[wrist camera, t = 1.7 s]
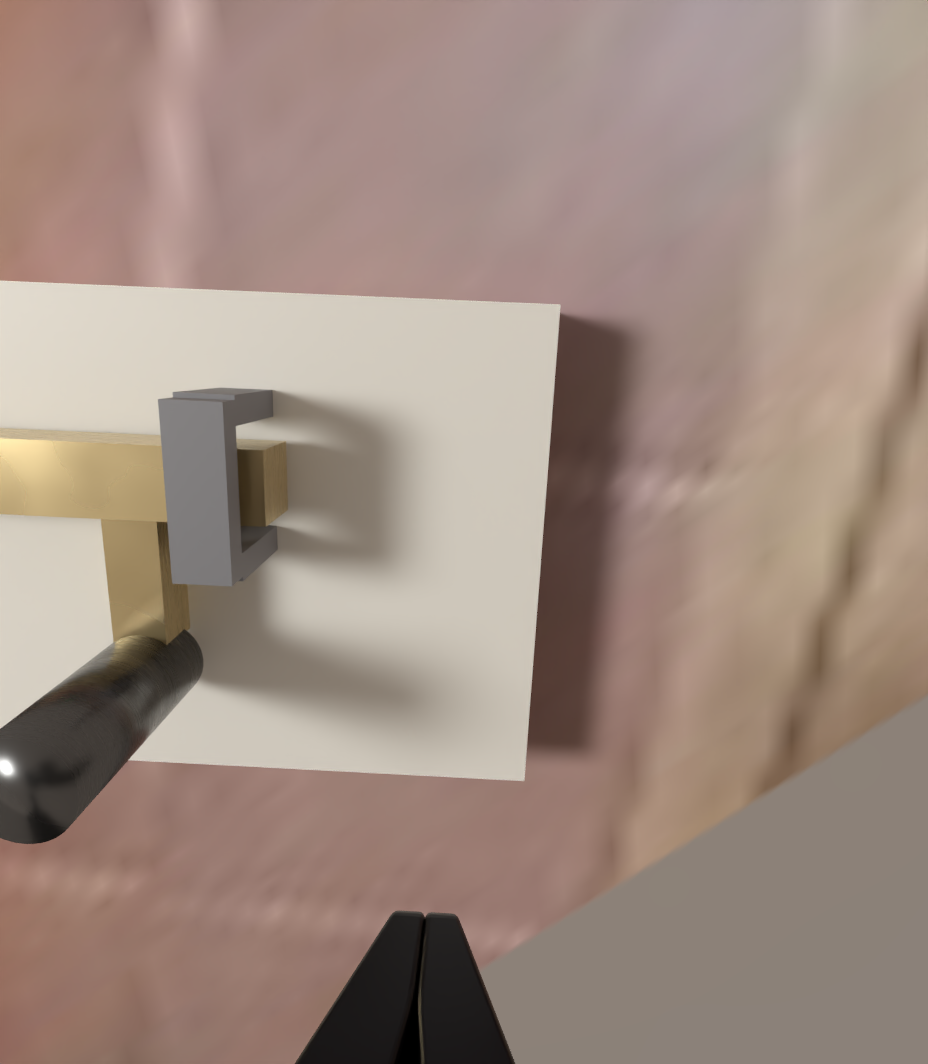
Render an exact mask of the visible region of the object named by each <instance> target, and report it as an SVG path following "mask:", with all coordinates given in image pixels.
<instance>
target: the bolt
mask: <svg viewBox="0 0 928 1064" xmlns="http://www.w3.org/2000/svg"><path fill="white" fill-rule="evenodd" d="M236 442H237V463H238V484H239V505H240V526H258V527H266V526H268V525H269V524H270V523H272V522H273V521H274V520H275V519H277V518H278V517H279V516H281V515H282V514H283V513H285V512H286V511H287V510H288V492H287V456H286V441H274V440H252V439H236ZM0 514H5V515H26V516H47V517H68V518H90V519H101V527H102V537H103V547H104V556H105V566H106V575H107V585H108V594H109V604H110V613H111V623H112V632H113V643H112V644H111V645H109V646H108V647H107V648H106V649H104V650H103V651H102V652H100V653H99V654H98V655H96V656H95V657H94V658H92V659H91V660H90V661H88V662H87V663H86V664H85V665H83V666H82V667H81V668H79V669H78V670H77V671H75V672H74V673H73V674H71V675H70V676H69V677H67V678H66V679H65V680H63V681H62V682H61V683H60V684H58V685H57V686H56V687H54V688H53V689H52V690H50V691H49V692H48V693H46V694H45V695H44V696H42V697H41V698H40V699H39V700H37V701H36V702H35V703H33V704H32V705H31V706H29V707H28V708H27V709H25V710H24V711H23V712H21V713H20V714H19V715H18V716H16V717H15V718H14V719H12V720H11V721H10V722H8V723H7V724H6V725H4V726H3V727H2V728H0V838H2V839H5V840H8V841H11V842H16V843H23V844H35V843H42V842H46V841H49V840H52V839H54V838H56V837H58V836H59V835H61V834H62V833H63V832H65V831H66V830H67V828H68V827H69V826H70V825H71V824H72V823H73V822H74V821H75V820H76V818H77V817H78V816H79V815H80V814H81V813H82V812H83V811H84V809H85V808H86V807H87V806H88V805H89V804H90V803H91V802H92V800H93V799H94V798H95V797H96V796H97V795H98V794H99V793H100V791H101V790H102V789H103V788H104V787H105V786H106V785H107V783H108V782H109V781H110V780H111V779H112V778H113V777H114V776H115V774H116V773H117V772H118V771H119V770H120V769H121V768H122V767H123V765H124V764H125V763H126V762H127V761H128V760H129V759H130V758H131V756H132V755H133V754H134V753H135V752H136V751H137V750H138V749H139V747H140V746H141V745H142V744H143V743H144V742H145V741H146V740H147V738H148V737H149V736H150V735H151V734H152V733H153V732H154V731H155V729H156V728H157V727H158V726H159V725H160V724H161V723H162V722H163V720H164V719H165V718H166V717H167V716H168V715H169V714H170V712H171V711H172V710H173V709H174V708H175V707H176V706H177V705H178V703H179V702H180V701H181V700H182V699H183V698H184V697H185V696H186V694H187V693H188V692H189V691H190V690H191V689H192V688H193V687H194V685H195V684H196V683H197V682H198V680H199V679H200V677H201V674H202V671H203V655H202V651H201V649H200V646H199V645H198V643H197V641H196V640H195V639H194V637H193V636H192V635H191V634H190V633H189V632H188V630H189V629H190V615H189V601H188V587H187V584H172V575H171V562H170V549H169V536H168V524H167V511H166V498H165V485H164V472H163V459H162V446H161V435H143V434H121V433H99V432H77V431H55V430H33V429H11V428H0Z"/></svg>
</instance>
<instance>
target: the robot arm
mask: <svg viewBox="0 0 928 1064" xmlns="http://www.w3.org/2000/svg"><path fill="white" fill-rule="evenodd" d="M295 1064H515V1062H514V1059H513V1057H512V1054H511V1051H510V1049H509V1046H508V1044H507V1041H506V1039H505V1036H504V1034H503V1031H502V1029H501V1026H500V1023H499V1021H498V1018H497V1016H496V1013H495V1011H494V1008H493V1005H492V1003H491V1000H490V998H489V995H488V992H487V990H486V987H485V985H484V982H483V980H482V977H481V974H480V972H479V969H478V967H477V964H476V962H475V959H474V956H473V954H472V951H471V949H470V946H469V944H468V941H467V939H466V936H465V933H464V931H463V928H462V926H461V923H460V921H459V919H458V917H457V916H456V915H455V914H449V913H432V912H431V913H428V914H427V915H426V917H424V914H423V913H421V912H413V911H395V912H394V913H393V914H392V915H391V916H390V917H389V919H388V920H387V922H386V923H385V925H384V927H383V928H382V930H381V931H380V933H379V934H378V936H377V937H376V939H375V940H374V942H373V944H372V945H371V947H370V948H369V950H368V951H367V953H366V954H365V956H364V957H363V959H362V961H361V962H360V964H359V965H358V967H357V968H356V970H355V971H354V973H353V974H352V976H351V978H350V979H349V981H348V982H347V984H346V985H345V987H344V988H343V990H342V991H341V993H340V995H339V996H338V998H337V999H336V1001H335V1002H334V1004H333V1005H332V1007H331V1008H330V1010H329V1012H328V1013H327V1015H326V1016H325V1018H324V1019H323V1021H322V1022H321V1024H320V1025H319V1027H318V1029H317V1030H316V1032H315V1033H314V1035H313V1036H312V1038H311V1039H310V1041H309V1042H308V1044H307V1046H306V1047H305V1049H304V1050H303V1052H302V1053H301V1055H300V1056H299V1058H298V1059H297V1061H296V1063H295Z"/></svg>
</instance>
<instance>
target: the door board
mask: <svg viewBox="0 0 928 1064" xmlns="http://www.w3.org/2000/svg"><path fill="white" fill-rule="evenodd" d="M559 319H560V305H559V304H535V303H512V302H488V301H465V300H441V299H418V298H394V297H370V296H347V295H323V294H300V293H276V292H253V291H229V290H205V289H182V288H158V287H135V286H111V285H88V284H64V283H40V282H17V281H0V428H11V429H33V430H55V431H77V432H99V433H121V434H143V435H161V446H162V459H163V472H164V485H165V498H166V511H167V524H168V536H169V549H170V562H171V575H172V584H187V587H188V601H189V615H190V629H189V630H188V632H189V633H190V634H191V635H192V636H193V637H194V639H195V640H196V641H197V643H198V645H199V646H200V649H201V651H202V655H203V671H202V674H201V677H200V679H199V680H198V682H197V683H196V684H195V685H194V687H193V688H192V689H191V690H190V691H189V692H188V693H187V694H186V696H185V697H184V698H183V699H182V700H181V701H180V702H179V703H178V705H177V706H176V707H175V708H174V709H173V710H172V711H171V712H170V714H169V715H168V716H167V717H166V718H165V719H164V720H163V722H162V723H161V724H160V725H159V726H158V727H157V728H156V729H155V731H154V732H153V733H152V734H151V735H150V736H149V737H148V738H147V740H146V741H145V742H144V743H143V744H142V745H141V746H140V747H139V749H138V750H137V751H136V752H135V753H134V754H133V755H132V756H131V758H130V759H129V760H134V761H153V762H172V763H191V764H210V765H229V766H248V767H267V768H286V769H305V770H324V771H343V772H362V773H381V774H400V775H419V776H438V777H457V778H476V779H495V780H514V781H524V778H525V765H526V751H527V738H528V725H529V712H530V699H531V686H532V673H533V660H534V647H535V633H536V620H537V607H538V594H539V581H540V568H541V555H542V542H543V528H544V515H545V502H546V489H547V476H548V463H549V450H550V437H551V424H552V410H553V397H554V384H555V371H556V358H557V345H558V332H559ZM236 439H252V440H274V441H286V456H287V492H288V510H287V511H286V512H285V513H283V514H282V515H281V516H279V517H278V518H277V519H275V520H274V521H273V522H272V523H270V524H269V525H268V526H266V527H258V526H240V505H239V484H238V463H237V442H236ZM112 643H113V632H112V623H111V613H110V604H109V594H108V585H107V575H106V566H105V556H104V547H103V537H102V527H101V519H90V518H68V517H47V516H26V515H5V514H0V728H2V727H3V726H4V725H6V724H7V723H8V722H10V721H11V720H12V719H14V718H15V717H16V716H18V715H19V714H20V713H21V712H23V711H24V710H25V709H27V708H28V707H29V706H31V705H32V704H33V703H35V702H36V701H37V700H39V699H40V698H41V697H42V696H44V695H45V694H46V693H48V692H49V691H50V690H52V689H53V688H54V687H56V686H57V685H58V684H60V683H61V682H62V681H63V680H65V679H66V678H67V677H69V676H70V675H71V674H73V673H74V672H75V671H77V670H78V669H79V668H81V667H82V666H83V665H85V664H86V663H87V662H88V661H90V660H91V659H92V658H94V657H95V656H96V655H98V654H99V653H100V652H102V651H103V650H104V649H106V648H107V647H108V646H109V645H111V644H112Z"/></svg>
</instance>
